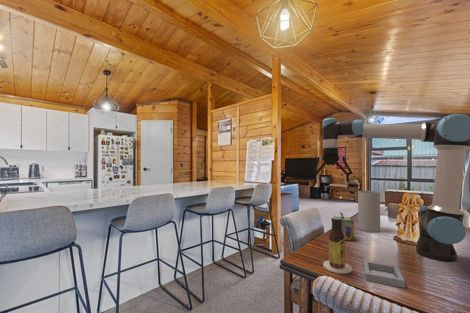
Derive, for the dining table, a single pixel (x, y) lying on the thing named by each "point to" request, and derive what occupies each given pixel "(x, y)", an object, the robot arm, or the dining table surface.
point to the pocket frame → (383, 279)
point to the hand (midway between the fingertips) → (331, 187)
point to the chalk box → (347, 227)
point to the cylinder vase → (369, 211)
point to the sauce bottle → (336, 244)
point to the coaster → (345, 270)
